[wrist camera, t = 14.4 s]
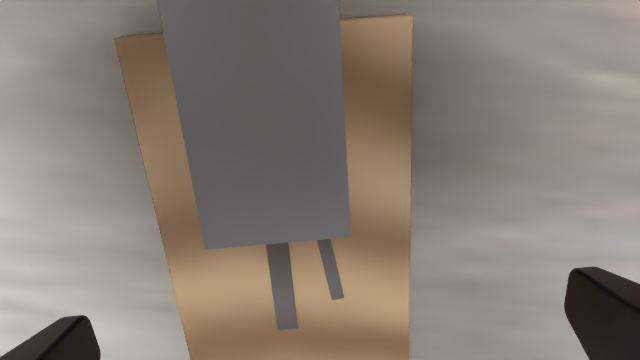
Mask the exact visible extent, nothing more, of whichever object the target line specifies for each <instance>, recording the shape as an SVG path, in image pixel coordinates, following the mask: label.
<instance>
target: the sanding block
mask: <svg viewBox="0 0 640 360" xmlns="http://www.w3.org/2000/svg"><path fill="white" fill-rule="evenodd" d="M157 4H158V9H159V14H160V19H161V25H162V30H163V35H164V40H165V45H166V50H167V56H168V61H169V66H170V71H171V76H172V82H173V87H174V92H175V97H176V102H177V107H178V113H179V118H180V123H181V128H182V133H183V139H184V144H185V149H186V154H187V159H188V164H189V170H190V175H191V180H192V185H193V190H194V196H195V201H196V206H197V211H198V216H199V221H200V227H201V232H202V237H203V242H204V247H205V250H207V249H218V248H230V247H242V246H254V245H265V244H277V243H289V242H301V241H313V240H324V239H336V238H348V237H351V229H350V209H349V190H348V170H347V150H346V130H345V111H344V91H343V71H342V52H341V32H340V12H339V0H157Z"/></svg>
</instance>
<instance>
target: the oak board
mask: <svg viewBox="0 0 640 360" xmlns="http://www.w3.org/2000/svg"><path fill="white" fill-rule="evenodd" d="M412 27H413V16H412V15H406V14H403V15H390V16H377V17H364V18H351V19H340V32H341V52H342V71H343V91H344V111H345V130H346V150H347V170H348V190H349V209H350V229H351V237H348V238H336V239H324V240H313V241H301V242H289V243H277V244H265V245H254V246H242V247H230V248H218V249H207V250H205V247H204V242H203V237H202V232H201V227H200V221H199V216H198V211H197V206H196V201H195V196H194V190H193V185H192V180H191V175H190V170H189V164H188V159H187V154H186V149H185V144H184V139H183V133H182V128H181V123H180V118H179V113H178V107H177V102H176V97H175V92H174V87H173V82H172V76H171V71H170V66H169V61H168V56H167V50H166V45H165V40H164V35H163V33H154V34H141V35H128V36H122V37H118V38H114V40H115V44H116V48H117V52H118V57H119V61H120V65H121V69H122V73H123V78H124V82H125V86H126V90H127V94H128V98H129V103H130V107H131V111H132V115H133V119H134V124H135V128H136V132H137V136H138V140H139V145H140V149H141V153H142V157H143V161H144V166H145V170H146V174H147V178H148V182H149V186H150V191H151V195H152V199H153V203H154V207H155V212H156V216H157V220H158V224H159V228H160V233H161V237H162V241H163V245H164V249H165V254H166V258H167V262H168V266H169V270H170V275H171V279H172V283H173V287H174V291H175V295H176V300H177V304H178V308H179V312H180V316H181V321H182V325H183V329H184V333H185V337H186V342H187V346H188V350H189V354H190V358H191V360H409V305H410V212H411V120H412Z"/></svg>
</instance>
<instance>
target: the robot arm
mask: <svg viewBox="0 0 640 360" xmlns="http://www.w3.org/2000/svg"><path fill="white" fill-rule="evenodd" d="M564 308H565V313H566V316H567V318H568V320H569V322H570V324H571V326H572V328H573V330H574V332H575V334H576V335H577V337H578V339H579V341H580V343H581V345H582V347H583V349H584V350H585V352H586V354H587V356H588V358H589V360H640V284H638V283H636V282H633V281H631V280H628V279H626V278H623V277H621V276H618V275H616V274H613V273H611V272H608V271H606V270H603V269H601V268H598V267H583V268H575V269H573V270H572V271H571V272H570V274H569V278H568V284H567V290H566V296H565V303H564ZM0 360H100V348H99V345H98V342H97V339H96V337H95V334H94V331H93V328H92V325H91V322H90V320H89V319H88V318H87V317H86V316H84V315H79V316H69V317H63V318H60V319H59V320H57V321H55V322H54V323H52V324H51V325H49V326H48V327H46V328H45V329H43V330H42V331H40V332H38V333H37V334H35V335H34V336H32V337H31V338H29V339H28V340H26V341H25V342H23V343H21V344H20V345H18V346H17V347H15V348H14V349H12V350H11V351H9V352H8V353H6V354H4V355H3V356H1V357H0Z"/></svg>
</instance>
